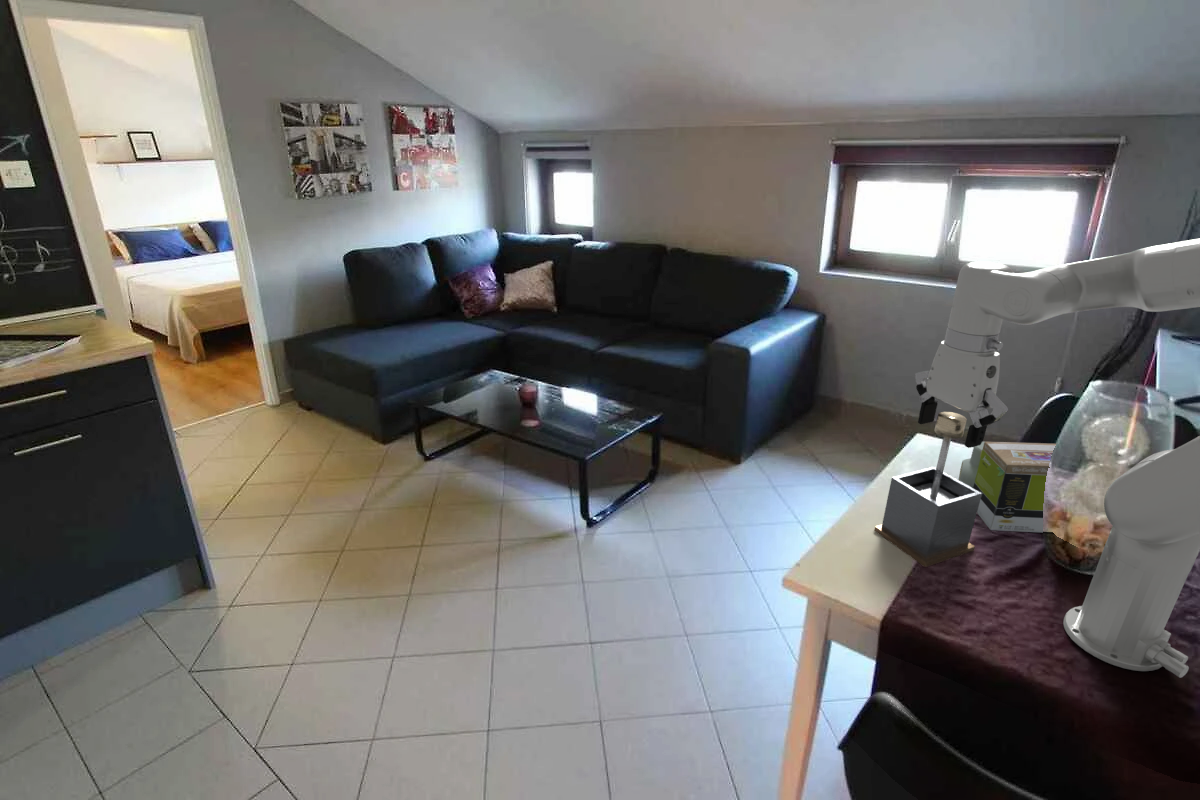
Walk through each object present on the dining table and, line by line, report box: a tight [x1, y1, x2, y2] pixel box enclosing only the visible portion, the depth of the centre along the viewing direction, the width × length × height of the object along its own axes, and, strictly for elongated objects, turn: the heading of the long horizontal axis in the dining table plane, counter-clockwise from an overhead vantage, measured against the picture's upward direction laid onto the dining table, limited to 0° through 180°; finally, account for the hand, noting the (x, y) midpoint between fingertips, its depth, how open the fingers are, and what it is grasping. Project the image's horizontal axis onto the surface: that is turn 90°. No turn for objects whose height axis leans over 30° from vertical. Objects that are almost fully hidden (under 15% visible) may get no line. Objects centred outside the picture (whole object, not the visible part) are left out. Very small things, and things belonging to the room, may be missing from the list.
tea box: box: [973, 441, 1057, 533], centre depth 126 cm, size 15×10×15 cm, turn 84°
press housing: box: [873, 466, 982, 568], centre depth 120 cm, size 12×12×12 cm
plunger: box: [913, 411, 968, 503], centre depth 115 cm, size 8×8×17 cm
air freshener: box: [958, 441, 985, 488], centre depth 137 cm, size 11×8×10 cm
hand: (948, 433), depth 113 cm, fingers open, 9 cm apart
